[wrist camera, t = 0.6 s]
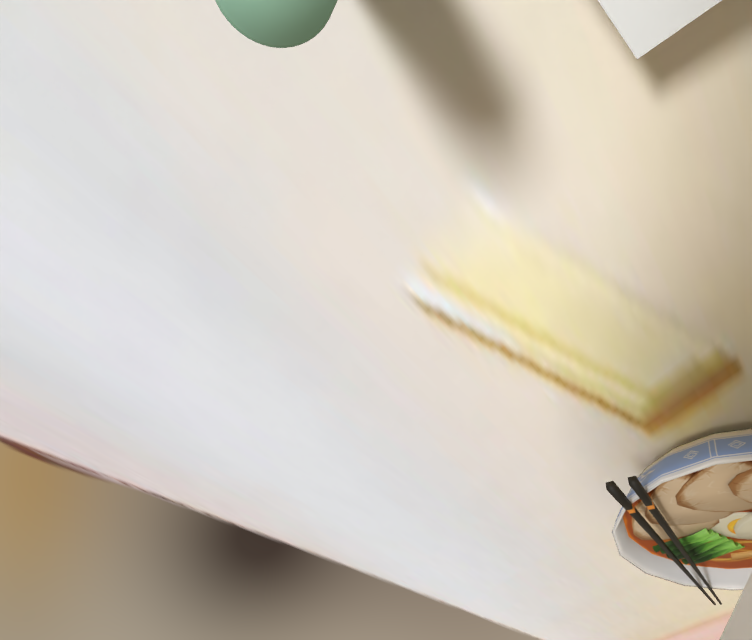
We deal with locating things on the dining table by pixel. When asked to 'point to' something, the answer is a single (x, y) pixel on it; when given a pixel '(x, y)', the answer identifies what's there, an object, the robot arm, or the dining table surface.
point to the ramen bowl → (692, 514)
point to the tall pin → (278, 19)
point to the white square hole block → (652, 19)
